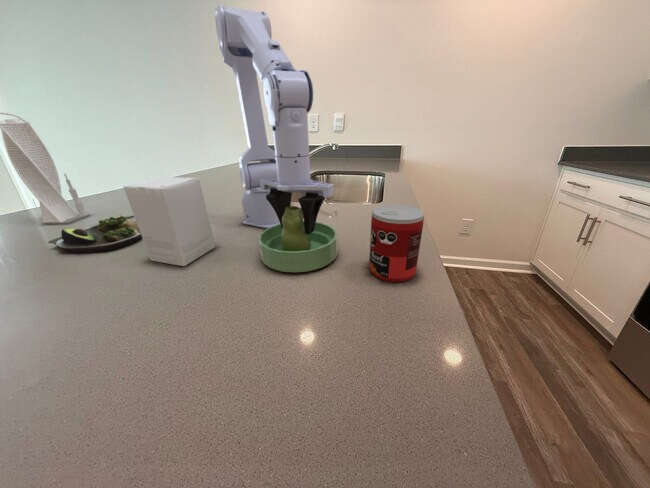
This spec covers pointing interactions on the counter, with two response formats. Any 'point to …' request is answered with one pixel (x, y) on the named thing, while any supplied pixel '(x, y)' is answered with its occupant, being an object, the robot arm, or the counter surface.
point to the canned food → (395, 242)
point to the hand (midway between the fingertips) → (298, 230)
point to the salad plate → (99, 236)
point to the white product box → (171, 218)
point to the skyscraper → (39, 171)
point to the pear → (294, 230)
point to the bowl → (299, 261)
